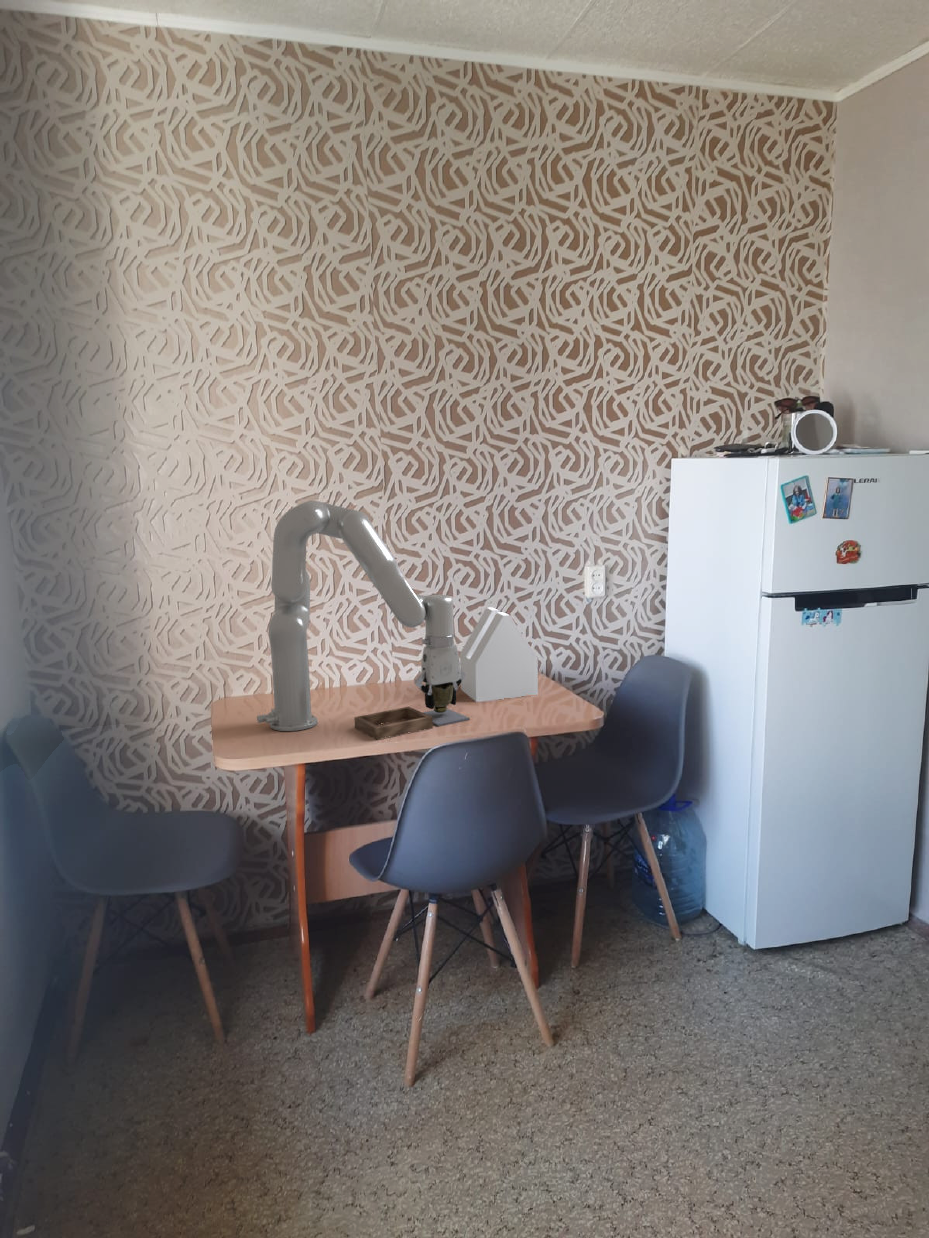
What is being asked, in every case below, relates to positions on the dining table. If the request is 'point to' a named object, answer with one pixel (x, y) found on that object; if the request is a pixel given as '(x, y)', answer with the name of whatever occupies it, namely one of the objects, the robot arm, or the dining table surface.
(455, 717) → the mat
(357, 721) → the frame
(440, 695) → the cup
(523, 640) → the grey slotted house block
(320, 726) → the dining table surface
